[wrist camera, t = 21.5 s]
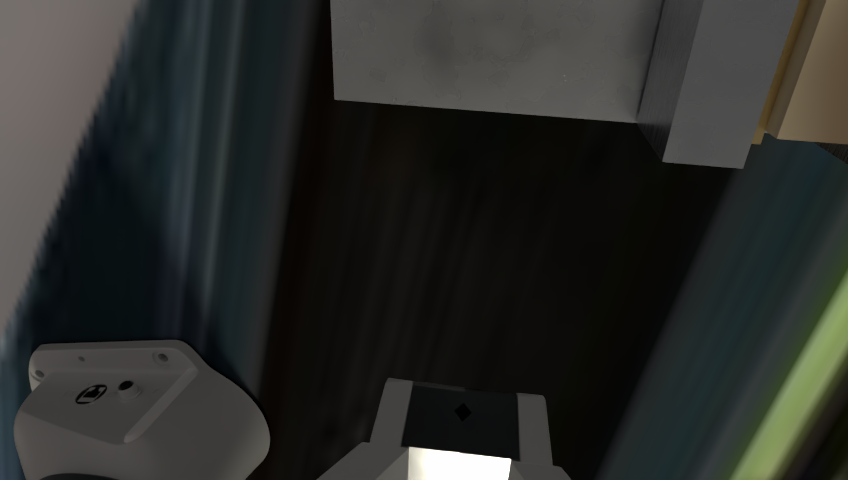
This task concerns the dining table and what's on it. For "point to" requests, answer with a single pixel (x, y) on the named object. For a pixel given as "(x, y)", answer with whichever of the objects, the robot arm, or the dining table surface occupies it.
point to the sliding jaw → (716, 77)
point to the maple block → (816, 79)
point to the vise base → (501, 55)
